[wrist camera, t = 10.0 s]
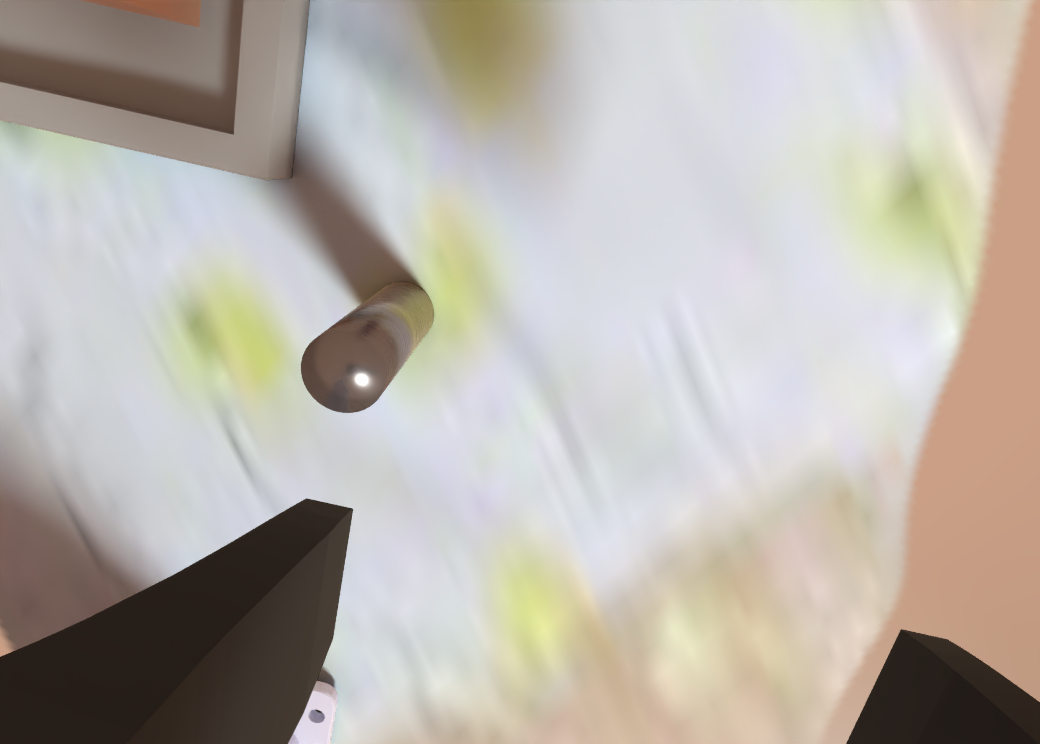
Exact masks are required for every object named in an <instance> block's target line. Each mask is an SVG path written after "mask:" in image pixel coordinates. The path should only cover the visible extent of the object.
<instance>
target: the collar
mask: <svg viewBox="0 0 1040 744" xmlns="http://www.w3.org/2000/svg"><path fill="white" fill-rule="evenodd" d="M81 1H86V2H90V3H94V4H99V5H103V6H107V7H112V8H116V9H121V10H125V11H129V12H134V13H138V14H142V15H147V16H151V17H155V18H160V19H164V20H169V21H173V22H177V23H182V24H186V25H190V26H195V27H199V26H200V8H201V0H81Z"/></svg>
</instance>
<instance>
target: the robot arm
mask: <svg viewBox="0 0 1040 744" xmlns="http://www.w3.org/2000/svg"><path fill="white" fill-rule="evenodd" d="M352 513H353V509H352V508H347V507H343V506H338V505H334V504H329V503H325V502H320V501H316V500H311V499H307V498H306V499H305V500H303V501H301V502H299V503H297V504H296V505H294V506H292V507H290V508H289V509H287V510H285V511H284V512H282V513H280V514H278V515H277V516H275V517H273V518H272V519H270V520H268V521H267V522H265V523H263V524H261V525H260V526H258V527H256V528H255V529H253V530H251V531H250V532H248V533H246V534H245V535H243V536H241V537H239V538H238V539H236V540H234V541H233V542H231V543H229V544H228V545H226V546H224V547H222V548H221V549H219V550H217V551H215V552H214V553H212V554H210V555H208V556H206V557H205V558H203V559H201V560H199V561H198V562H196V563H194V564H192V565H190V566H189V567H187V568H185V569H183V570H182V571H180V572H178V573H176V574H174V575H172V576H170V577H168V578H167V579H165V580H163V581H161V582H159V583H157V584H155V585H153V586H151V587H149V588H147V589H145V590H143V591H141V592H139V593H137V594H135V595H133V596H131V597H129V598H127V599H125V600H123V601H121V602H119V603H117V604H115V605H113V606H111V607H109V608H107V609H105V610H103V611H101V612H99V613H97V614H96V615H94V616H92V617H90V618H87V619H85V620H83V621H81V622H79V623H77V624H75V625H72V626H70V627H68V628H66V629H64V630H62V631H59V632H57V633H55V634H53V635H50V636H48V637H46V638H44V639H41V640H39V641H37V642H35V643H32V644H30V645H28V646H25V647H23V648H21V649H18V650H16V651H13V652H11V653H9V654H6V655H4V656H1V657H0V744H331V738H332V732H333V726H334V720H335V714H336V708H337V702H338V693H337V692H336V690H335V688H333V687H332V686H331V685H329V684H327V683H324V682H320V681H317V679H318V676H319V673H320V671H321V668H322V666H323V663H324V661H325V658H326V655H327V653H328V650H329V648H330V645H331V642H332V640H333V635H334V629H335V622H336V616H337V609H338V603H339V596H340V590H341V583H342V577H343V571H344V564H345V558H346V551H347V545H348V538H349V532H350V525H351V519H352ZM315 710H319V711H322V712H323V713H319V712H317V711H315ZM847 744H1040V702H1039V701H1037V700H1036V699H1034V698H1033V697H1032V696H1030V695H1029V694H1028V693H1026V692H1025V691H1023V690H1022V689H1020V688H1019V687H1018V686H1017V685H1015V684H1013V683H1012V682H1011V681H1010V680H1008V679H1007V678H1005V677H1004V676H1003V675H1001V674H1000V673H998V672H997V671H995V670H994V669H992V668H991V667H990V666H988V665H987V664H985V663H984V662H982V661H981V660H979V659H978V658H976V657H975V656H973V655H972V654H970V653H969V652H967V651H965V650H964V649H962V648H961V647H959V646H957V645H956V644H954V643H952V642H951V641H949V640H947V639H943V638H938V637H934V636H929V635H925V634H920V633H916V632H911V631H907V630H901V631H900V633H899V635H898V637H897V639H896V641H895V643H894V645H893V647H892V649H891V651H890V654H889V656H888V658H887V660H886V662H885V664H884V666H883V668H882V670H881V672H880V674H879V676H878V679H877V681H876V683H875V685H874V687H873V689H872V691H871V693H870V695H869V697H868V699H867V702H866V704H865V706H864V708H863V710H862V712H861V714H860V717H859V718H858V720H857V722H856V725H855V727H854V729H853V731H852V733H851V735H850V737H849V739H848V741H847Z"/></svg>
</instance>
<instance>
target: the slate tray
mask: <svg viewBox="0 0 1040 744" xmlns="http://www.w3.org/2000/svg"><path fill="white" fill-rule="evenodd" d="M309 6H310V0H201V8H200V26H199V27H195V26H190V25H186V24H182V23H177V22H173V21H169V20H164V19H160V18H155V17H151V16H147V15H142V14H138V13H134V12H129V11H125V10H121V9H116V8H112V7H107V6H103V5H99V4H94V3H90V2H86V1H81V0H0V120H2V121H7V122H11V123H15V124H20V125H24V126H29V127H33V128H38V129H42V130H46V131H51V132H55V133H60V134H64V135H69V136H73V137H77V138H82V139H86V140H91V141H95V142H100V143H104V144H108V145H113V146H117V147H122V148H126V149H131V150H135V151H139V152H144V153H148V154H153V155H157V156H162V157H166V158H170V159H175V160H179V161H184V162H188V163H192V164H197V165H201V166H206V167H210V168H215V169H219V170H223V171H228V172H232V173H237V174H241V175H246V176H250V177H254V178H259V179H263V180H274V179H285V178H292V170H293V160H294V151H295V141H296V131H297V122H298V112H299V103H300V93H301V83H302V74H303V64H304V54H305V45H306V35H307V25H308V16H309Z"/></svg>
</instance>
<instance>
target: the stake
mask: <svg viewBox="0 0 1040 744" xmlns="http://www.w3.org/2000/svg"><path fill="white" fill-rule="evenodd" d="M433 319H434V310H433V305H432V302H431V300H430V298H429V297H428V295H427V294H426V293H425V292H424V291H423V290H422V289H421V288H419V287H418V286H416V285H414V284H412V283H408V282H394V283H391V284H388V285H386V286H385V287H383V288H382V289H381V290H379V291H378V292H377V293H375V294H374V295H373V296H371V297H370V298H369V299H367V300H366V301H365V302H363V303H362V304H361V305H359V306H358V307H357V308H355V309H354V310H353V311H351V312H350V313H349V314H347V315H346V316H345V317H343V318H342V319H341V320H340V321H338V322H337V323H336V324H334V325H333V326H332V327H330V328H329V329H328V330H326V331H325V332H324V333H322V334H321V335H320V336H318V337H317V338H316V339H314V340H313V341H312V342H311V343H310V344H309V346H308V347H307V348H306V350H305V352H304V354H303V357H302V362H301V374H302V378H303V382H304V384H305V386H306V388H307V390H308V391H309V393H310V394H311V395H312V397H313V398H314V399H315V400H316V401H317V402H319V403H320V404H321V405H323V406H325V407H326V408H328V409H331V410H334V411H337V412H343V413H353V412H358V411H361V410H364V409H366V408H368V407H370V406H371V405H372V404H374V403H375V402H376V401H377V400H378V398H379V397H380V396H381V394H382V393H383V392H384V390H385V389H386V388H387V386H388V385H389V384H390V382H391V381H392V380H393V378H394V377H395V376H396V374H397V373H398V372H399V370H400V369H401V367H402V366H403V365H404V363H405V362H406V361H407V359H408V358H409V357H410V355H411V354H412V353H413V351H414V350H415V349H416V347H417V346H418V345H419V343H420V342H421V341H422V339H423V338H424V337H425V335H426V334H427V332H428V331H429V330H430V328H431V326H432V323H433Z"/></svg>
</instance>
